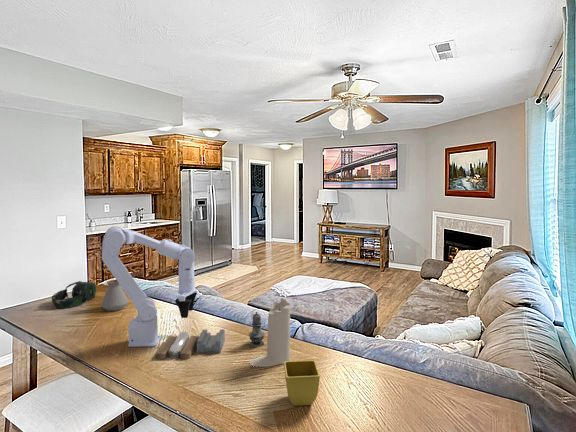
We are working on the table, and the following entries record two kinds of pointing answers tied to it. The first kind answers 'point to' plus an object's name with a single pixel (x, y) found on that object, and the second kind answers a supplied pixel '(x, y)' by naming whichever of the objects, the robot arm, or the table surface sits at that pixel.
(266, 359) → the white boot
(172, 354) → the axle
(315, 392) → the flower pot
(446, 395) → the table surface
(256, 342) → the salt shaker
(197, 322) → the table surface
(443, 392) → the table surface
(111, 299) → the coffee pot
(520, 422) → the table surface
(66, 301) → the headphones
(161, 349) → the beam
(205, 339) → the v block
